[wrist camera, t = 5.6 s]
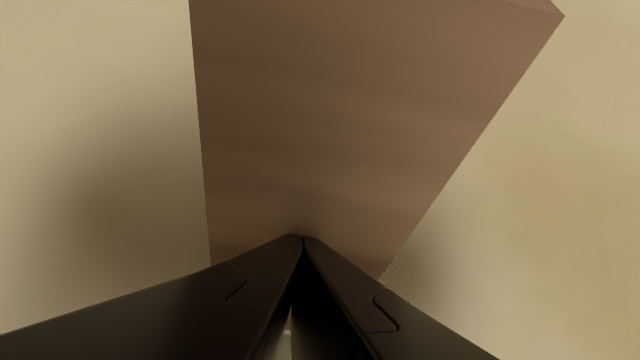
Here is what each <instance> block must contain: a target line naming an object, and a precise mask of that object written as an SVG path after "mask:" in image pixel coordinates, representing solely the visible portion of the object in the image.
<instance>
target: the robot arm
mask: <svg viewBox="0 0 640 360" xmlns="http://www.w3.org/2000/svg"><path fill="white" fill-rule="evenodd" d="M290 308H291V354H292V360H500V359H498V358H496V357H495V356H493V355H491V354H490V353H488V352H487V351H485V350H483V349H482V348H480V347H478V346H477V345H475V344H474V343H472V342H470V341H469V340H467V339H465V338H464V337H462V336H461V335H459V334H457V333H456V332H454V331H452V330H451V329H449V328H448V327H446V326H444V325H443V324H441V323H440V322H438V321H436V320H435V319H433V318H432V317H430V316H428V315H427V314H425V313H424V312H422V311H421V310H419V309H417V308H416V307H414V306H413V305H411V304H410V303H408V302H407V301H405V300H404V299H403V298H401V297H400V296H398V295H397V294H395V293H394V292H392V291H391V290H390V289H388V288H387V289H386V287H384V286H383V285H382V284H380V283H379V282H378V281H376V280H375V279H373V278H372V277H371V276H369V275H368V274H366V273H365V272H364V271H362V270H361V269H359V268H358V267H357V266H355V265H354V264H352V263H351V262H350V261H348V260H347V259H345V258H344V257H343V256H341V255H340V254H338V253H337V252H336V251H334V250H333V249H332V248H330V247H329V246H327V245H326V244H325V243H323V242H322V241H320V240H319V239H317V238H312V237H307V236H305V237H303V239H302V236H301V235H296V234H290V233H287V234H285V235H283V236H281V237H278V238H276V239H274V240H272V241H269V242H267V243H265V244H263V245H260V246H258V247H256V248H254V249H251V250H249V251H247V252H245V253H243V254H240V255H238V256H236V257H234V258H231V259H229V260H227V261H223V262H221V263H219V264H216V265H214V266H211V267H209V268H207V269H204V270H202V271H199V272H196V273H193V274H190V275H187V276H184V277H181V278H178V279H175V280H172V281H168V282H165V283H162V284H159V285H156V286H153V287H149V288H146V289H143V290H140V291H137V292H134V293H131V294H127V295H124V296H121V297H118V298H115V299H112V300H108V301H105V302H102V303H99V304H96V305H93V306H90V307H86V308H83V309H80V310H77V311H74V312H71V313H67V314H64V315H61V316H58V317H55V318H52V319H48V320H45V321H42V322H39V323H36V324H33V325H30V326H26V327H23V328H20V329H17V330H14V331H11V332H7V333H4V334H1V335H0V360H276V359H277V355H278V352H279V348H280V345H281V342H282V338H283V335H284V331H285V328H286V324H287V321H288V317H289V313H290Z"/></svg>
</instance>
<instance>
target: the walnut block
mask: <svg viewBox="0 0 640 360" xmlns="http://www.w3.org/2000/svg"><path fill="white" fill-rule="evenodd" d="M189 12H190V23H191V35H192V47H193V58H194V70H195V82H196V93H197V105H198V117H199V128H200V140H201V152H202V163H203V175H204V187H205V199H206V210H207V222H208V234H209V245H210V257H211V266H214V265H216V264H219V263H221V262H223V261H227V260H229V259H231V258H234V257H236V256H238V255H240V254H243V253H245V252H247V251H249V250H251V249H254V248H256V247H258V246H260V245H263V244H265V243H267V242H269V241H272V240H274V239H276V238H278V237H281V236H283V235H285V234H287V233H290V234H296V235H301V236H302V239H303V237H305V236H307V237H312V238H317V239H319V240H320V241H322V242H323V243H325V244H326V245H327V246H329V247H330V248H332V249H333V250H334V251H336V252H337V253H338V254H340V255H341V256H343V257H344V258H345V259H347V260H348V261H350V262H351V263H352V264H354V265H355V266H357V267H358V268H359V269H361V270H362V271H364V272H365V273H366V274H368V275H369V276H371V277H372V278H373V279H375V280H376V281H377V280H378V279H379V277H380V276H381V275H382V273H383V272H384V270H385V269H386V268H387V266H388V265H389V263H390V262H391V261H392V259H393V258H394V256H395V255H396V254H397V252H398V251H399V249H400V248H401V246H402V245H403V244H404V242H405V241H406V239H407V238H408V237H409V235H410V234H411V232H412V231H413V230H414V228H415V227H416V225H417V224H418V223H419V221H420V220H421V218H422V217H423V215H424V214H425V213H426V211H427V210H428V208H429V207H430V206H431V204H432V203H433V201H434V200H435V199H436V197H437V196H438V194H439V193H440V192H441V190H442V189H443V187H444V186H445V184H446V183H447V182H448V180H449V179H450V177H451V176H452V175H453V173H454V172H455V170H456V169H457V168H458V166H459V165H460V163H461V162H462V161H463V159H464V158H465V156H466V155H467V154H468V152H469V151H470V149H471V148H472V146H473V145H474V144H475V142H476V141H477V139H478V138H479V137H480V135H481V134H482V132H483V131H484V130H485V128H486V127H487V125H488V124H489V123H490V121H491V120H492V118H493V117H494V115H495V114H496V113H497V111H498V110H499V108H500V107H501V106H502V104H503V103H504V101H505V100H506V99H507V97H508V96H509V94H510V93H511V92H512V90H513V89H514V87H515V86H516V84H517V83H518V82H519V80H520V79H521V77H522V76H523V75H524V73H525V72H526V70H527V69H528V68H529V66H530V65H531V63H532V62H533V61H534V59H535V58H536V56H537V55H538V53H539V52H540V51H541V49H542V48H543V46H544V45H545V44H546V42H547V41H548V39H549V38H550V37H551V35H552V34H553V32H554V31H555V30H556V28H557V27H558V25H559V24H560V22H561V21H562V20H563V18H564V17H565V16H564V14H563V13H562V12H561V11H560V10H559V9H558V8H557V7H556V6H555V5H554V4H553V3H552V2H551V1H550V0H189ZM284 335H287V336H291V308H290V313H289V317H288V321H287V324H286V328H285V331H284Z"/></svg>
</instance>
